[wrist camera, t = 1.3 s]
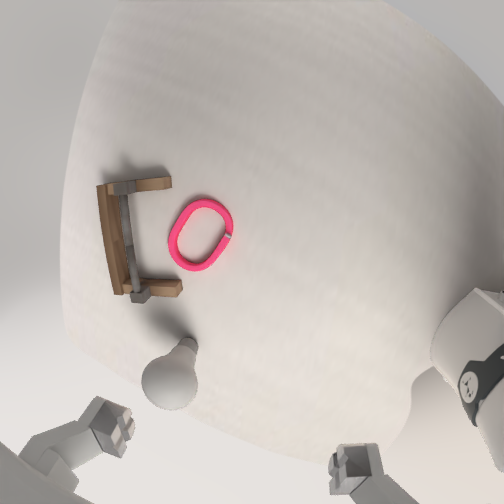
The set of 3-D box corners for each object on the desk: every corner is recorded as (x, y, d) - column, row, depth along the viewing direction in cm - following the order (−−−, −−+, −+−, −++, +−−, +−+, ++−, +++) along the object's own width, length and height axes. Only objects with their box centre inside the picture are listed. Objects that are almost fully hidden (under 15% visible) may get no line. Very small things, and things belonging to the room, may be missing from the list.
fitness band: (204, 277, 32) (200, 283, 30) (163, 247, 31) (157, 251, 30) (244, 219, 29) (242, 222, 28) (199, 187, 29) (194, 189, 27)
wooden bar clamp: (171, 176, 28) (154, 179, 24) (182, 289, 32) (170, 305, 28) (108, 183, 29) (88, 187, 25) (124, 286, 33) (107, 300, 29)
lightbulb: (160, 326, 34) (121, 382, 24) (201, 317, 33) (169, 379, 23) (181, 362, 36) (151, 421, 26) (221, 356, 35) (198, 420, 24)
